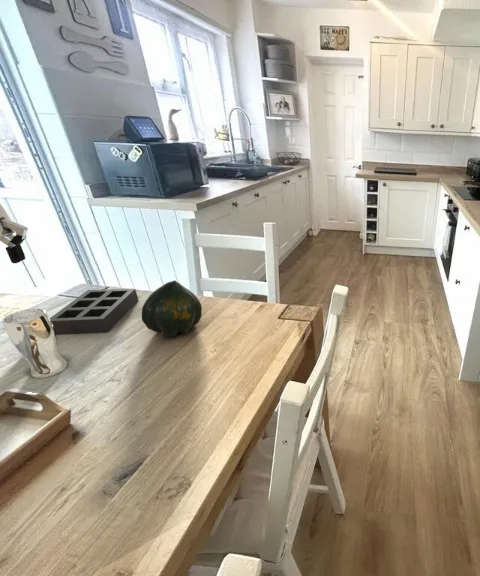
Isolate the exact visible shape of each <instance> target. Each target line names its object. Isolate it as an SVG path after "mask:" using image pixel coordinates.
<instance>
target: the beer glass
mask: <svg viewBox="0 0 480 576" xmlns="http://www.w3.org/2000/svg"><path fill="white" fill-rule="evenodd" d="M50 318H51V317H49V315H48V313H47V311H46V309H44V308H40V307H34V308H25V309H22V310H18V311H14V312H12V313H10V314H8V315H5V316H4V317H3V318H2V324H3V326H4V329H5V331H6V335H7V336H8V338H9V340H10V342H11V343H12V345H13V346H14V348H16V350H17V351H18V352H19V353H20V354H21V355H22V356H23V357H24V359H26V361H27V363H28V365H29V368H30V373H31V376H32V378H35V379H44V378H49V377H53V376H56V375H58V374H60V373H61V372H63V371H64V370H65V369H66V368H67V367H68V362H67V361H66V359H65V357H63V355H62V354H61V352H60V348H59V343H58V337H57V336H58V335H56V332H55V329H54V326H53V324H52V322H51V320H50Z"/></svg>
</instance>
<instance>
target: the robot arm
mask: <svg viewBox="0 0 480 576" xmlns="http://www.w3.org/2000/svg"><path fill="white" fill-rule="evenodd" d="M28 230H29V229H28V227H27V226H25V225H23V224H20V223H17V222H15V221H13V220H12V218H11V216H10V214H9V213H8V210H7V209H6V207H5V205H4V203H3V201H1V200H0V243H2V244H4V245H5V246H6V247H5V251H6V254H7V255H8V258H9V260H10V262H11V263H12V264H18V263H21V262H22V261H25V260H26V254H25V252H24V250H23V247H22V244H23V243H24V241H25V240H26V238H27V234H28Z"/></svg>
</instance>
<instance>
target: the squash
mask: <svg viewBox="0 0 480 576" xmlns="http://www.w3.org/2000/svg"><path fill="white" fill-rule="evenodd" d="M202 311H203V308H202V303H201V301H200V300H199V298H198V297H197V296H196V294H194V292H192V291H191V290H190V289H188V288H186V287H185V286H184V285H182V283H180V282H178V281H177V280H170V281H168V282H165V283H164V284H163V285H161V286H160V287H157V288H156V289H155V290H154V291H153V292H152V293H150V294H149V295H148V297H147V299H146V300H145V302H144V303H143V305H142V308H141V321H142V323H143V324H144V325H145V326H146V328H147V329H148V330H151V331H152V332H153V333H159V334H160V333H162V334H163V335H164V336H166V337H168V338H169V337H170V338H173V337H175V336H177V335H178V333H180V334H185V333H188V332H189V331H190V330H191V329H192V327H194V326H196V325H197V324H199V322H200V320H201V318H202Z"/></svg>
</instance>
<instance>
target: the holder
mask: <svg viewBox="0 0 480 576" xmlns="http://www.w3.org/2000/svg"><path fill="white" fill-rule="evenodd" d="M138 302H140V301H139V297H138V293H137V290H136V288H110V289H107V288H105V289H87V290H86V291H85V292H83V293H82V294H80V295H79V296H78V297H76V298H75V299H73V300H71V302H70V303H68V304H66V305H65V306H64V307H63V308H62V309H60V310H59V311H57V312H56V313H54V314H53V315H52V316H51V317H49V318H50V320H51V322H52V324H53V326H54V329H55V332H56V336H65V335H82V334H83V335H85V334H87V335H88V334H102V333H103V334H104V333H109V332H110V331H111V330H112V329H113V328H114V327H115V326H116V325H117V324H118V322H119V321H121V319H122V318H123V317H125V315H127V313H128V312H130V310H131V309H132V308H133V307H134V306H135V305H136V304H137V303H138Z"/></svg>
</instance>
